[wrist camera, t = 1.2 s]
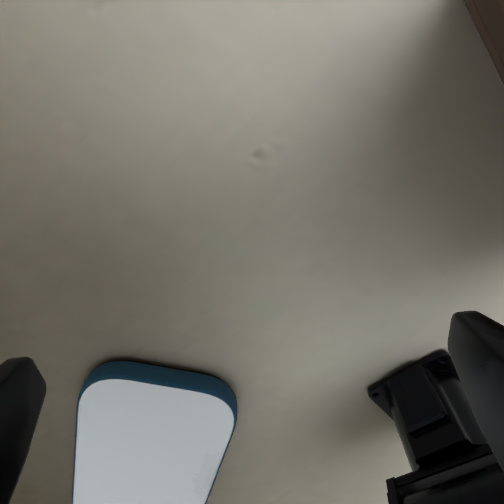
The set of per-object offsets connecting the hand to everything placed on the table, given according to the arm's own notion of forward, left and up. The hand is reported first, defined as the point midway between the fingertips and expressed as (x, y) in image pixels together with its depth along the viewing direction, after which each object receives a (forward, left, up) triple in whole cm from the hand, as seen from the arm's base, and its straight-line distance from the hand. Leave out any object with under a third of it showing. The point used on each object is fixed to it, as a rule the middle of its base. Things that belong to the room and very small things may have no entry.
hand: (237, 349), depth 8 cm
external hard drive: (-14, +23, -14) cm, 31 cm away
